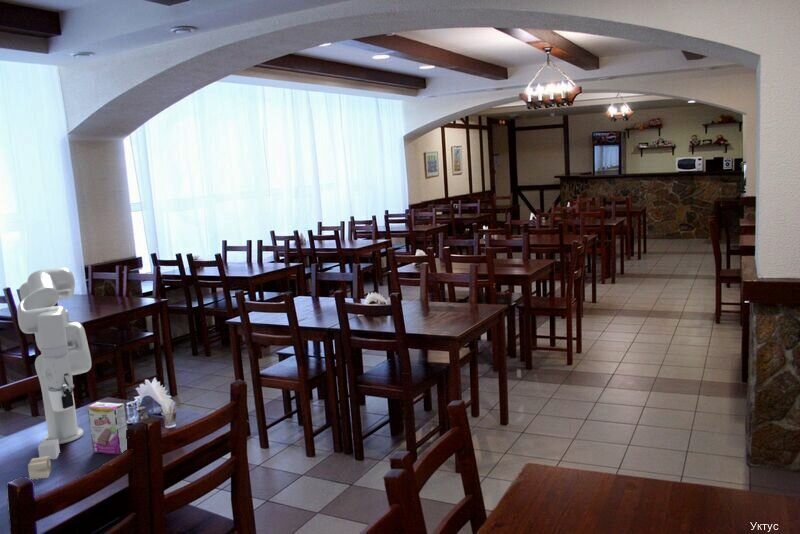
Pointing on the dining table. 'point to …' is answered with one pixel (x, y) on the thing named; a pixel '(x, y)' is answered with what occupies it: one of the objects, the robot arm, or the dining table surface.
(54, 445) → the grey block
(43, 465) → the birch block
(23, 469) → the dining table surface
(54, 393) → the white cup
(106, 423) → the candy bar box
